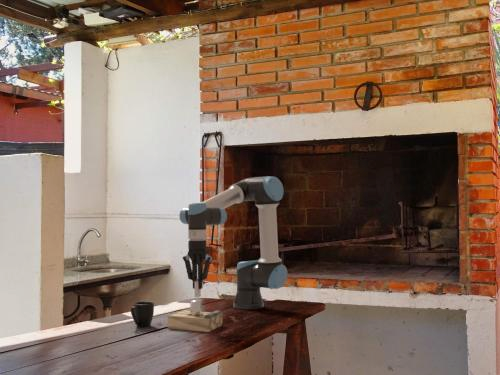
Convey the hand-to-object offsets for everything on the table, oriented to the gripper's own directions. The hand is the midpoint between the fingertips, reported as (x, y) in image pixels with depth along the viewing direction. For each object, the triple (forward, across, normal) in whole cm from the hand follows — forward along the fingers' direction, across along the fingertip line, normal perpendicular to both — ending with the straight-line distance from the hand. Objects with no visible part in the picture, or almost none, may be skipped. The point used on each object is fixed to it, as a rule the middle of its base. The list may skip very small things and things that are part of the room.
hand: (197, 296), depth 231 cm
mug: (+12, -21, -10) cm, 26 cm away
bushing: (+11, 0, -2) cm, 11 cm away
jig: (+12, 0, -2) cm, 12 cm away
